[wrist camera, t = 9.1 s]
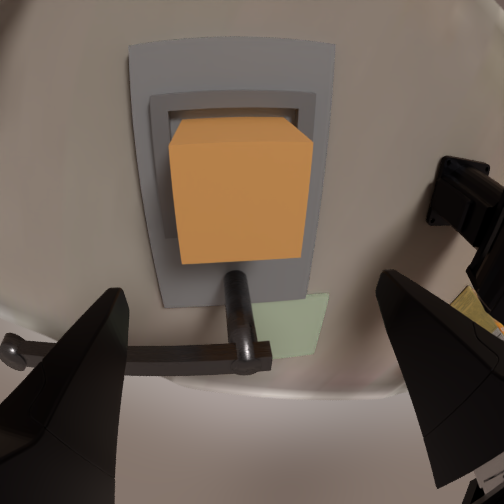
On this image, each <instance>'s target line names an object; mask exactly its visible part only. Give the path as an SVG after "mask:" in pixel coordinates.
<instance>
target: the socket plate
mask: <svg viewBox="0 0 504 504" xmlns="http://www.w3.org/2000/svg"><path fill="white" fill-rule="evenodd" d="M334 63H335V44H330V43H323V42H316V41H307V40H298V39H287V38H272V37H240V36H232V37H200V38H185V39H174V40H164V41H156V42H148V43H142V44H135V45H129V73H130V91H131V105H132V117H133V128H134V137H135V147H136V155H137V163H138V171H139V178H140V185H141V192H142V198H143V205H144V211H145V217H146V222H147V228H148V233H149V239H150V244H151V249H152V254H153V259H154V264H155V269H156V273H157V278H158V282H159V287H160V291H161V295H162V300H163V304H164V308H177V307H199V306H218V305H225V294H224V280H223V279H224V276H225V275H226V273H228V272H230V271H232V270H240V271H242V272H244V273H245V274H246V276H247V281H248V287H249V293H250V299H251V303H263V302H276V301H288V300H299V299H306V293H307V288H308V282H309V276H310V270H311V264H312V258H313V252H314V246H315V239H316V233H317V226H318V219H319V212H320V205H321V197H322V189H323V182H324V173H325V165H326V156H327V147H328V137H329V127H330V116H331V105H332V92H333V78H334ZM217 117H284V118H285V119H286V120H288V121H289V122H290V123H291V124H292V125H294V126H295V127H296V128H297V129H298V130H300V131H301V132H302V133H303V134H304V135H305V136H307V137H308V138H309V139H310V140H311V141H312V142H314V143H313V154H312V164H311V174H310V184H309V193H308V202H307V211H306V219H305V228H304V236H303V243H302V251H301V258H286V259H270V260H252V261H235V262H217V263H199V264H182V261H181V254H180V247H179V240H178V232H177V224H176V216H175V208H174V199H173V189H172V179H171V169H170V158H169V144H170V142H171V140H172V138H173V136H174V134H175V132H176V130H177V128H178V126H179V124H180V123H181V121H182V119H197V118H217Z"/></svg>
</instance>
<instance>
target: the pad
mask: <svg viewBox="0 0 504 504" xmlns="http://www.w3.org/2000/svg"><path fill="white" fill-rule="evenodd" d="M328 300H329V294H328V293H321V294H311V295H306V299H299V300H288V301H276V302H263V303H251V305H252V311H253V317H254V322H255V328H256V334H257V340H258V341H270V346H271V351H272V356H273V358H272V359H279V358H288V357H296V356H304V355H312V354H314V352H315V348H316V345H317V341H318V338H319V334H320V330H321V327H322V323H323V319H324V315H325V311H326V307H327V304H328Z"/></svg>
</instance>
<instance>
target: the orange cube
mask: <svg viewBox="0 0 504 504" xmlns="http://www.w3.org/2000/svg"><path fill="white" fill-rule="evenodd" d="M313 143H314V142H312V141H311V140H310V139H309V138H308V137H307V136H305V135H304V134H303V133H302V132H301V131H300V130H298V129H297V128H296V127H295V126H294V125H292V124H291V123H290V122H289V121H288V120H286V119H285V118H284V117H217V118H197V119H182V121H181V123H180V124H179V126H178V128H177V130H176V132H175V134H174V136H173V138H172V140H171V142H170V144H169V158H170V169H171V179H172V189H173V199H174V208H175V216H176V224H177V232H178V240H179V247H180V254H181V261H182V264H199V263H217V262H235V261H252V260H270V259H286V258H301V251H302V243H303V236H304V228H305V219H306V211H307V202H308V193H309V184H310V174H311V164H312V154H313Z"/></svg>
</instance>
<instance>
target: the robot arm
mask: <svg viewBox="0 0 504 504" xmlns="http://www.w3.org/2000/svg"><path fill="white" fill-rule="evenodd" d="M447 161H448V162H447ZM489 171H490V166H489V165H488V164H486V163H484V162H479V161H474V160H469V159H464V158H458V157H453V156H444V157H443V159H442V162H441V166H440V170H439V175H438V179H437V183H436V186H435V190H434V194H433V198H432V201H431V205H430V208H429V212H428V215H427V218H426V222H427V223H428V224H429V225H430V226H445V225H451V226H452V227H453V228H454V229H455V230H456V231H457V232H459V233H460V234H461V235H462V236H463V237H464V238H465V239H466V240H467V241H468V242H469V243H470V244H471V245H472V246H473V247H474V248H475V249H476V250H477V252H476V254H475V256H474V258H473V260H472V262H471V264H470V265H469V266H468V267H467V269H466V273H467V275H468V277H469V279H470V281H471V283H472V285H473V287H474V289H475V291H476V293H477V296H478V298H479V300H480V302H481V304H482V306H483V308H484V310H485V312H486V313H488V314H489V315H490V316H491V317H492V318H494V319H495V320H497V321H498V322H500V323H501V324H502V325H503V326H504V187H503V186H502V185H500V184H499V183H498V182H496V181H495V180H493V179H492V178H490V177H489V176H488V175H489ZM431 219H432V220H431ZM376 297H377V301H378V304H379V307H380V311H381V314H382V318H383V321H384V325H385V328H386V331H387V334H388V337H389V340H390V342H391V345H392V347H393V350H394V353H395V355H396V358H397V361H398V363H399V366H400V369H401V371H402V374H403V377H404V380H405V383H406V385H407V388H408V391H409V394H410V397H411V400H412V403H413V406H414V409H415V412H416V415H417V419H418V422H419V425H420V429H421V432H422V435H423V437H424V443H425V446H426V450H427V453H428V457H429V460H430V464H431V468H432V472H433V476H434V480H435V484H436V487H437V489H439V488H441V487H443V486H445V485H447V484H449V483H451V482H453V481H455V480H457V479H459V478H461V477H463V476H465V475H466V474H468V473H470V472H472V471H474V473H475V476H476V478H475V479H474V480H472V481H470V484H469V486H468V489H467V492H466V494H465V497H464V499H463V502H462V504H504V341H503V340H501V339H500V338H498V337H497V336H495V335H493V334H492V333H490V332H489V331H487V330H486V329H484V328H483V327H481V326H480V325H479V324H477V323H476V322H474V321H472V320H471V319H470V318H468V317H467V316H465V315H464V314H462V313H461V312H459V311H458V310H457V309H455V308H454V307H452V306H451V305H449V304H448V303H446V302H444V301H443V300H441V299H440V298H438V297H437V296H435V295H434V294H432V293H431V292H429V291H428V290H426V289H424V288H423V287H421V286H420V285H418V284H417V283H415V282H413V281H412V280H410V279H409V278H407V277H406V276H404V275H402V274H401V273H399V272H398V271H396V270H394V269H390V270H384V271H382V273H381V275H380V278H379V281H378V284H377V287H376ZM128 327H129V306H128V303H127V301H126V298H125V295H124V292H123V290H122V288H109V289H107V290H106V291H105V292H104V293H103V294H102V295H101V296H100V298H99V299H98V300H97V301H96V302H95V303H94V304H93V305H92V306H91V307H90V308H89V309H88V310H87V311H86V312H85V313H84V314H83V315H82V316H81V317H80V318H79V319H78V320H77V321H76V322H75V324H74V325H73V326H72V327H71V328H70V329H69V330H68V331H67V332H66V333H65V334H64V335H63V336H62V338H61V339H60V340H59V341H58V342H57V343H56V344H55V345H54V346H53V347H52V349H51V350H50V351H49V352H48V353H47V354H46V355H45V356H44V358H43V359H42V361H40V362H39V363H38V364H37V366H36V367H35V368H34V369H33V370H32V371H31V372H30V374H29V375H28V376H27V377H26V378H25V379H24V380H23V381H22V382H21V383H20V384H19V385H18V386H17V388H16V389H15V390H14V391H13V392H12V393H11V394H10V395H9V396H8V397H7V398H6V399H5V400H4V401H3V402H2V403H1V404H0V504H115V503H114V502H115V496H114V494H115V479H114V478H115V465H116V448H117V436H118V425H119V414H120V405H121V397H122V388H123V381H124V374H125V367H126V360H127V346H128Z"/></svg>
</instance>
